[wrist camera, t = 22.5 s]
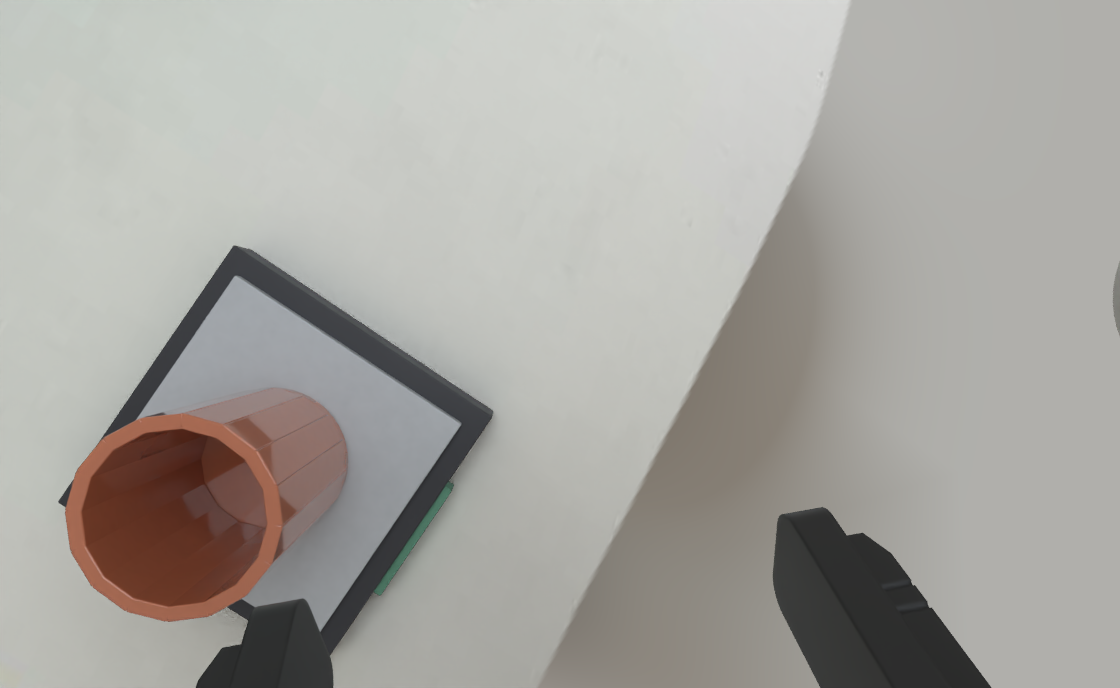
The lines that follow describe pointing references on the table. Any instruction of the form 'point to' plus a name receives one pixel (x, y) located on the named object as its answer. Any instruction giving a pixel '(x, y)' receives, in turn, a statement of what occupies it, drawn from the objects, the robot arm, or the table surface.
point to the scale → (355, 403)
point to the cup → (203, 500)
